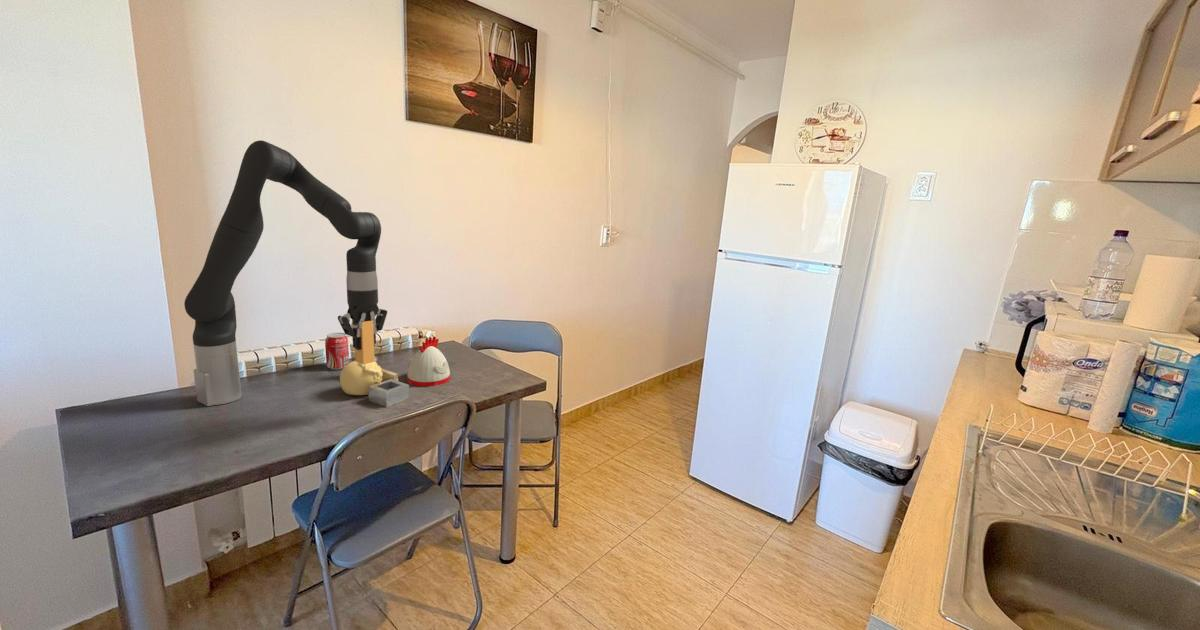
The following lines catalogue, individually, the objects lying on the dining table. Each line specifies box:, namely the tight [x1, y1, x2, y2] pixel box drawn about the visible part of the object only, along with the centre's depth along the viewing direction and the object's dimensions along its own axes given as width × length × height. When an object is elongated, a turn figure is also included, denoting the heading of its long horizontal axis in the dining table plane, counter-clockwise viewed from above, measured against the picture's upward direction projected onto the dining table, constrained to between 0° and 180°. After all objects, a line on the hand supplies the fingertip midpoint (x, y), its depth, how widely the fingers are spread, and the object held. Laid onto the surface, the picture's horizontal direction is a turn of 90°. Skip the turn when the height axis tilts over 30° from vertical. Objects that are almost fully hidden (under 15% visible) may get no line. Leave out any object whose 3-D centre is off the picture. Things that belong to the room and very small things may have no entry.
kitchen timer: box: [406, 335, 451, 387], centre depth 159 cm, size 14×14×15 cm
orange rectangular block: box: [354, 321, 375, 365], centre depth 129 cm, size 3×3×12 cm
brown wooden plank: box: [380, 367, 399, 382], centre depth 152 cm, size 2×12×5 cm, turn 62°
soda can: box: [324, 332, 350, 371], centre depth 163 cm, size 7×7×12 cm
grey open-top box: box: [368, 379, 410, 408], centre depth 141 cm, size 8×8×4 cm
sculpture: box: [339, 360, 383, 396], centre depth 145 cm, size 12×12×11 cm
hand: (364, 347), depth 129 cm, fingers closed on orange rectangular block, 3 cm apart
